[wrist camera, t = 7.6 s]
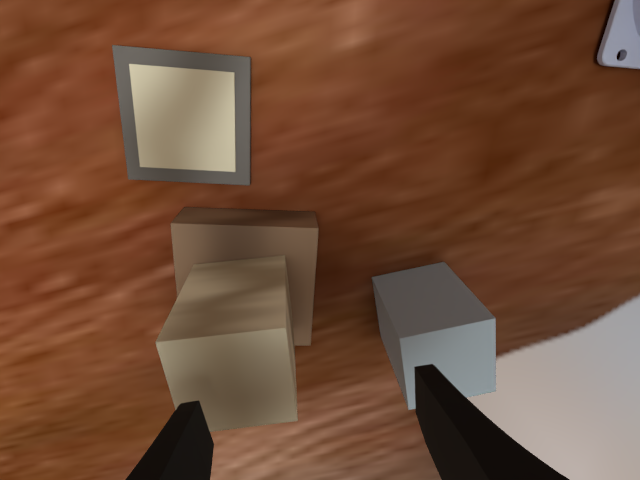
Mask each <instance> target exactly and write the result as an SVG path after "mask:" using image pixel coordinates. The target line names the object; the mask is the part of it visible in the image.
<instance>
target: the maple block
mask: <svg viewBox="0 0 640 480" xmlns="http://www.w3.org/2000/svg"><path fill="white" fill-rule="evenodd" d="M155 343H156V346H157V349H158V353H159V356H160V359H161V363H162V366H163V369H164V373H165V376H166V379H167V383H168V386H169V389H170V393H171V396H172V399H173V403H174V406H175V409H177V407H178V406H179V405H180V404H181V403H185V402H192V401H198V400H199V401H200V404H201V407H202V410H203V413H204V416H205V419H206V422H207V425H208V428H209V431H210V432H213V431H221V430H229V429H236V428H244V427H252V426H260V425H268V424H276V423H284V422H292V421H298V417H297V393H296V370H295V346H294V327H293V318H292V310H291V301H290V293H289V284H288V276H287V267H286V259H285V255H283V256H273V257H263V258H253V259H243V260H233V261H224V262H214V263H204V264H194V265H193V267H192V269H191V271H190V273H189V275H188V277H187V279H186V281H185V283H184V285H183V287H182V289H181V291H180V293H179V296H178V298H177V300H176V302H175V304H174V306H173V308H172V310H171V312H170V314H169V316H168V318H167V320H166V322H165V324H164V326H163V328H162V330H161V332H160V334H159V336H158V338H157V340H156V342H155Z"/></svg>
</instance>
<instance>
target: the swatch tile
mask: <svg viewBox="0 0 640 480" xmlns="http://www.w3.org/2000/svg"><path fill="white" fill-rule="evenodd" d="M112 48H113V56H114V65H115V73H116V81H117V89H118V98H119V106H120V114H121V123H122V131H123V139H124V147H125V156H126V164H127V172H128V179H133V180H153V181H173V182H193V183H213V184H233V185H250V165H251V57H243V56H232V55H220V54H209V53H197V52H185V51H174V50H162V49H151V48H139V47H128V46H116V45H112Z"/></svg>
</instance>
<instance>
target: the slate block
mask: <svg viewBox="0 0 640 480" xmlns="http://www.w3.org/2000/svg"><path fill="white" fill-rule="evenodd" d="M372 283H373V289H374V296H375V302H376V309H377V315H378V322H379V328H380V335H381V339H382V341H383V344H384V346H385V349H386V352H387V354H388V357H389V359H390V362H391V365H392V367H393V370H394V373H395V375H396V378H397V380H398V383H399V386H400V388H401V391H402V393H403V396H404V399H405V401H406V404H407V406H408V409H409V410H410V409H415V408H416V406H415V371H414V367H416V366H422V365H428V364H433V365H435V366H436V367H437V368H438V369H439V371H440V372H441V373H442V374H443V375H444V376H445V377H446V378H447V379H448V380H449V381H450V382H451V383H452V384H453V385H454V386H455V387H456V388H457V389H458V390H459V391H460V392H461V393H462V394H463V395H464V396H465V397H466V398H467V397H471V396H476V395H481V394H485V393H490V392H494V391H496V322H495V317H494V316H493V315H492V314H491V313H490V312H489V311H488V309H487V308H486V307H485V306H484V305H483V304H482V303H481V302H480V301H479V300H478V298H477V297H476V296H475V295H474V294H473V293H472V292H471V291H470V290H469V289H468V287H467V286H466V285H465V284H464V283H463V282H462V281H461V280H460V279H459V277H458V276H457V275H456V274H455V273H454V272H453V271H452V270H451V269H450V268H449V266H448V265H447V264H446V263H445V262H441V263H436V264H431V265H427V266H422V267H417V268H412V269H408V270H403V271H398V272H393V273H389V274H384V275H379V276H374V277H372Z"/></svg>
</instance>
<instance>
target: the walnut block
mask: <svg viewBox="0 0 640 480" xmlns="http://www.w3.org/2000/svg"><path fill="white" fill-rule="evenodd" d="M318 230H319V228H318V223H317V219H316V214H315V212H310V211H282V210H255V209H227V208H199V207H184V208H183V209H182V210H181V212H180V213H179V214H178V215H177V216H176V218H175V219H174V220H173V221H172V222H171V234H172V245H173V257H174V268H175V279H176V290H177V298H178V296H179V293H180V291H181V289H182V287H183V285H184V283H185V281H186V279H187V277H188V275H189V273H190V271H191V269H192V267H193V265H194V264H204V263H214V262H224V261H233V260H243V259H253V258H263V257H273V256H283V255H285V259H286V267H287V276H288V284H289V293H290V301H291V310H292V318H293V327H294V345H311V331H312V317H313V302H314V288H315V273H316V259H317V244H318Z"/></svg>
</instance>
